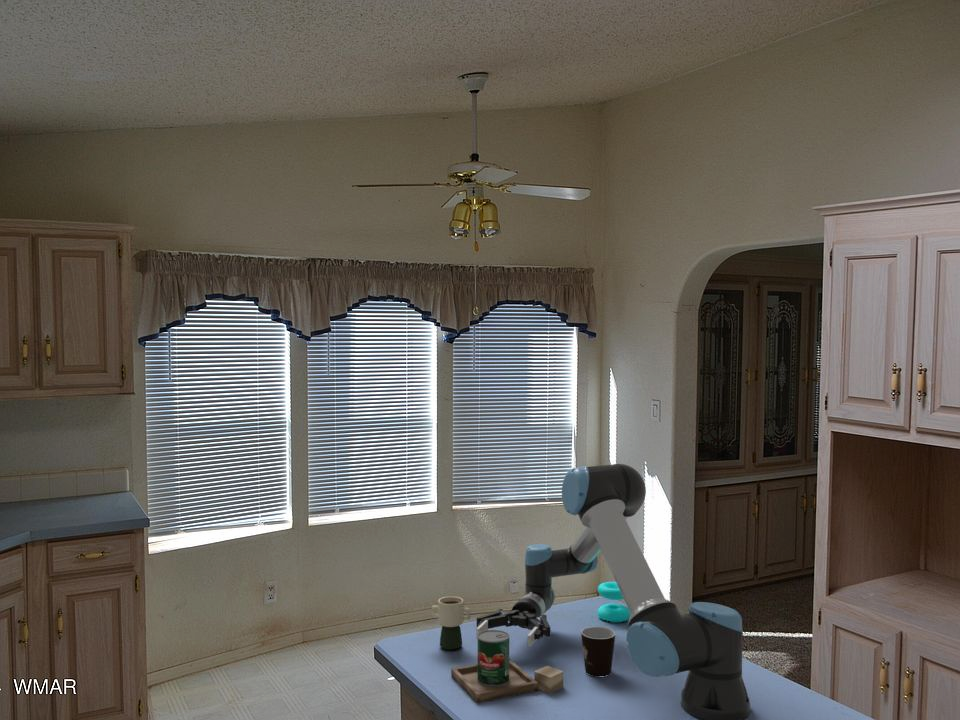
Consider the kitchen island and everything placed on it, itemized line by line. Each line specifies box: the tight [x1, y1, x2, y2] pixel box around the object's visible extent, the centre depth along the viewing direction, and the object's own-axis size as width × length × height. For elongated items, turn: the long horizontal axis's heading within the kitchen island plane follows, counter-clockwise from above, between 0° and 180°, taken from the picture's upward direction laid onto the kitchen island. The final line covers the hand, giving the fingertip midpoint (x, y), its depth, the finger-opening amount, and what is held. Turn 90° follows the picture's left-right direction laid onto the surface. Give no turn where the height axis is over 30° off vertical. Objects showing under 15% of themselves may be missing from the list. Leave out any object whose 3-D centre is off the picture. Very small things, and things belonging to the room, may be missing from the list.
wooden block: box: [533, 665, 564, 694], centre depth 194 cm, size 5×5×4 cm
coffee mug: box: [580, 626, 616, 677], centre depth 204 cm, size 12×9×10 cm
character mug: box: [431, 595, 471, 650], centre depth 219 cm, size 11×7×13 cm, turn 78°
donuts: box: [597, 581, 631, 623], centre depth 242 cm, size 10×10×10 cm
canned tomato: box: [476, 629, 511, 687], centre depth 196 cm, size 8×8×11 cm
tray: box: [450, 658, 539, 704], centre depth 196 cm, size 16×16×2 cm
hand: (502, 637), depth 201 cm, fingers open, 13 cm apart
